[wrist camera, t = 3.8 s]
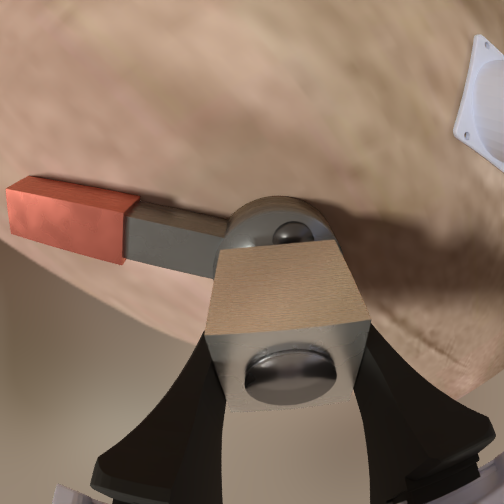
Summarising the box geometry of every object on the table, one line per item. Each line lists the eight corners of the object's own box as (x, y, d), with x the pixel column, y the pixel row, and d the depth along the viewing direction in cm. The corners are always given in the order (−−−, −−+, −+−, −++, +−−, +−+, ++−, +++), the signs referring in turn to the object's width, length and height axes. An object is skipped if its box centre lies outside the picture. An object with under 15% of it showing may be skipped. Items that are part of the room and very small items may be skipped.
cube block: (334, 239, 12) (374, 326, 8) (329, 321, 15) (350, 406, 10) (220, 249, 12) (202, 342, 8) (236, 330, 15) (230, 417, 10)
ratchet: (350, 214, 16) (381, 257, 12) (310, 305, 19) (321, 359, 15) (28, 149, 13) (-22, 171, 9) (34, 240, 17) (-3, 275, 13)
